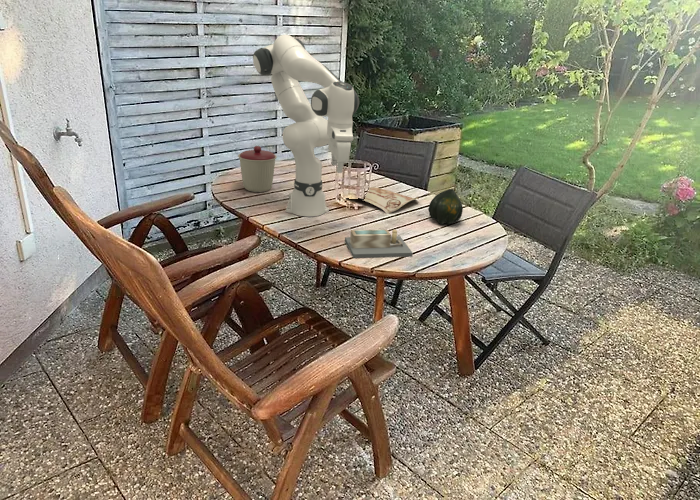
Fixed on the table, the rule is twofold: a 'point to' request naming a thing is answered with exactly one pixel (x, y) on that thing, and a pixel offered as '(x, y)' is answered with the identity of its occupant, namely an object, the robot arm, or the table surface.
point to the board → (381, 249)
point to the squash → (446, 207)
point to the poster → (386, 199)
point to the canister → (257, 169)
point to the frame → (372, 239)
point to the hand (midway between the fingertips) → (336, 168)
